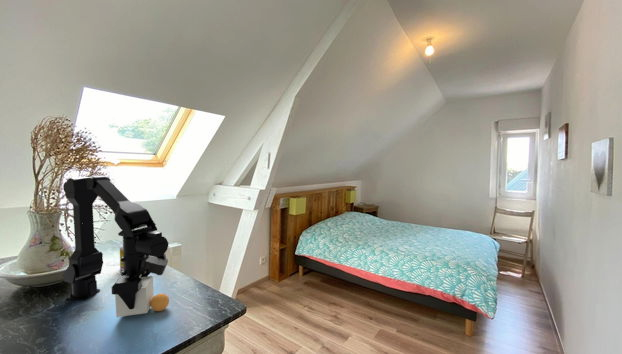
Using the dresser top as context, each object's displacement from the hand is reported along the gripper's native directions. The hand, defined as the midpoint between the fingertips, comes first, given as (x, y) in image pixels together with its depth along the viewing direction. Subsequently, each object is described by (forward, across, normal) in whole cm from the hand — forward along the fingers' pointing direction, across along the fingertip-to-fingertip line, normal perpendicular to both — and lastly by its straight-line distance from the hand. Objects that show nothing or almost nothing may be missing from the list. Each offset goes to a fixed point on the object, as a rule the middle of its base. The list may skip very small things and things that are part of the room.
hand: (136, 301), depth 82 cm
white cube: (+2, 0, 0) cm, 2 cm away
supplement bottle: (+4, +36, +13) cm, 39 cm away
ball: (+1, 0, -6) cm, 6 cm away
